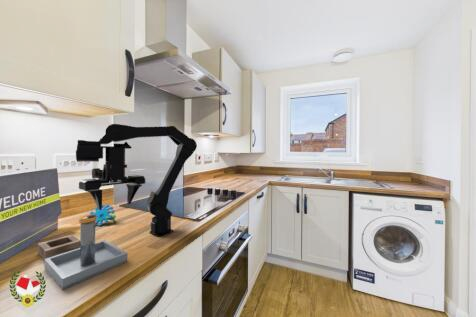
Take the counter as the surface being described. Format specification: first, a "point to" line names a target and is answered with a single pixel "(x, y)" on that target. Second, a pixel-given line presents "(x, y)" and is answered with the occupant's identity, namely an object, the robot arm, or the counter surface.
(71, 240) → the collar block
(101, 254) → the tray
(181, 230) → the counter surface
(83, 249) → the steel pin
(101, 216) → the gear
